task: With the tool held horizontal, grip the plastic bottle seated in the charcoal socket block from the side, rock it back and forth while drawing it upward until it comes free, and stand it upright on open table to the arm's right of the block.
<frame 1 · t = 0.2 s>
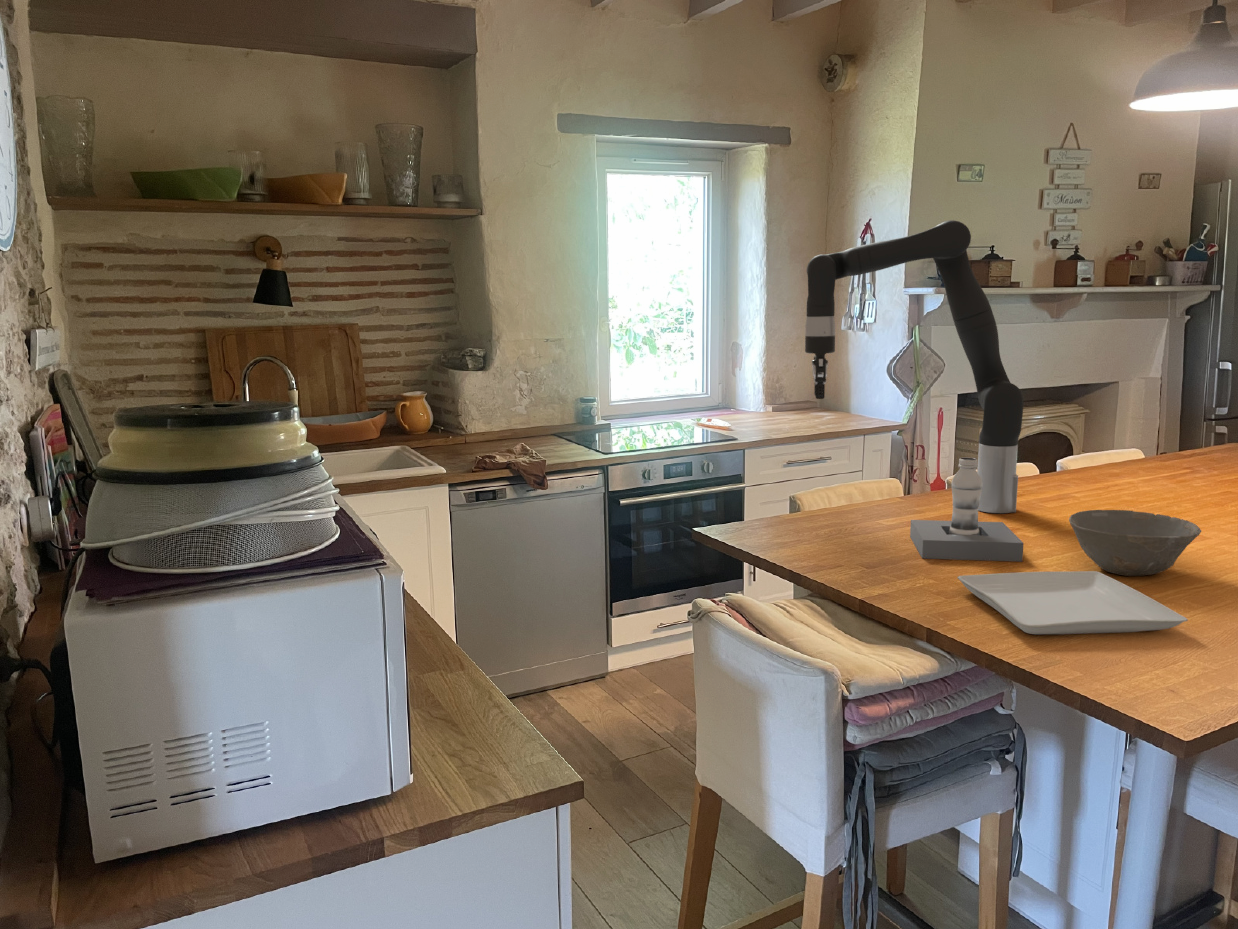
hand: (819, 397, 236), 29 cm above the table, tool pointing down, fingers open, 8 cm apart
plastic bottle: (963, 549, 199), resting in socket block
ceramic bowl: (1128, 571, 181), on the table
socket block: (963, 548, 199), on the table
square plate: (1062, 615, 158), on the table
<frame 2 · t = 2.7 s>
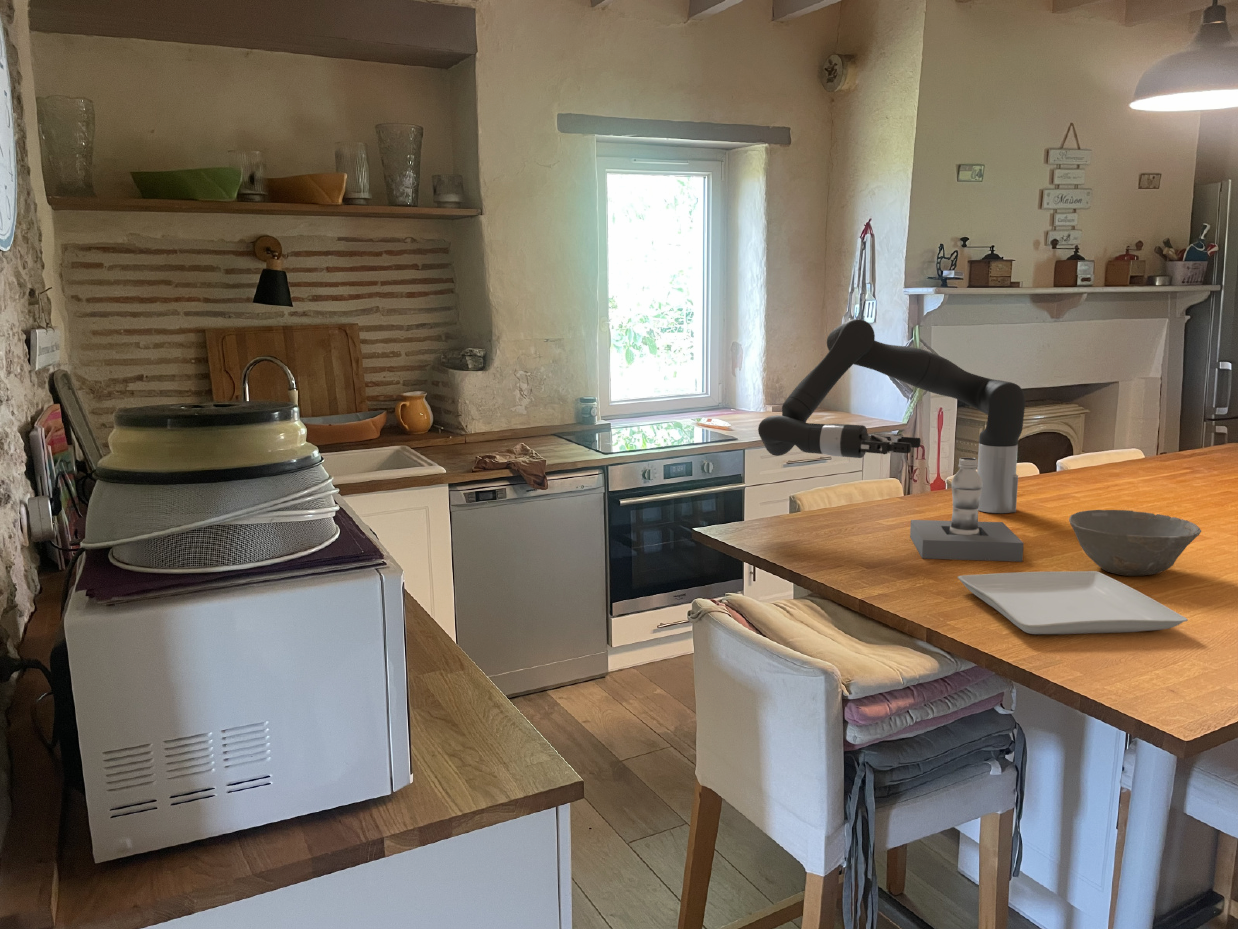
hand: (915, 445, 201), 22 cm above the table, tool horizontal, fingers open, 8 cm apart
nothing on the table moved.
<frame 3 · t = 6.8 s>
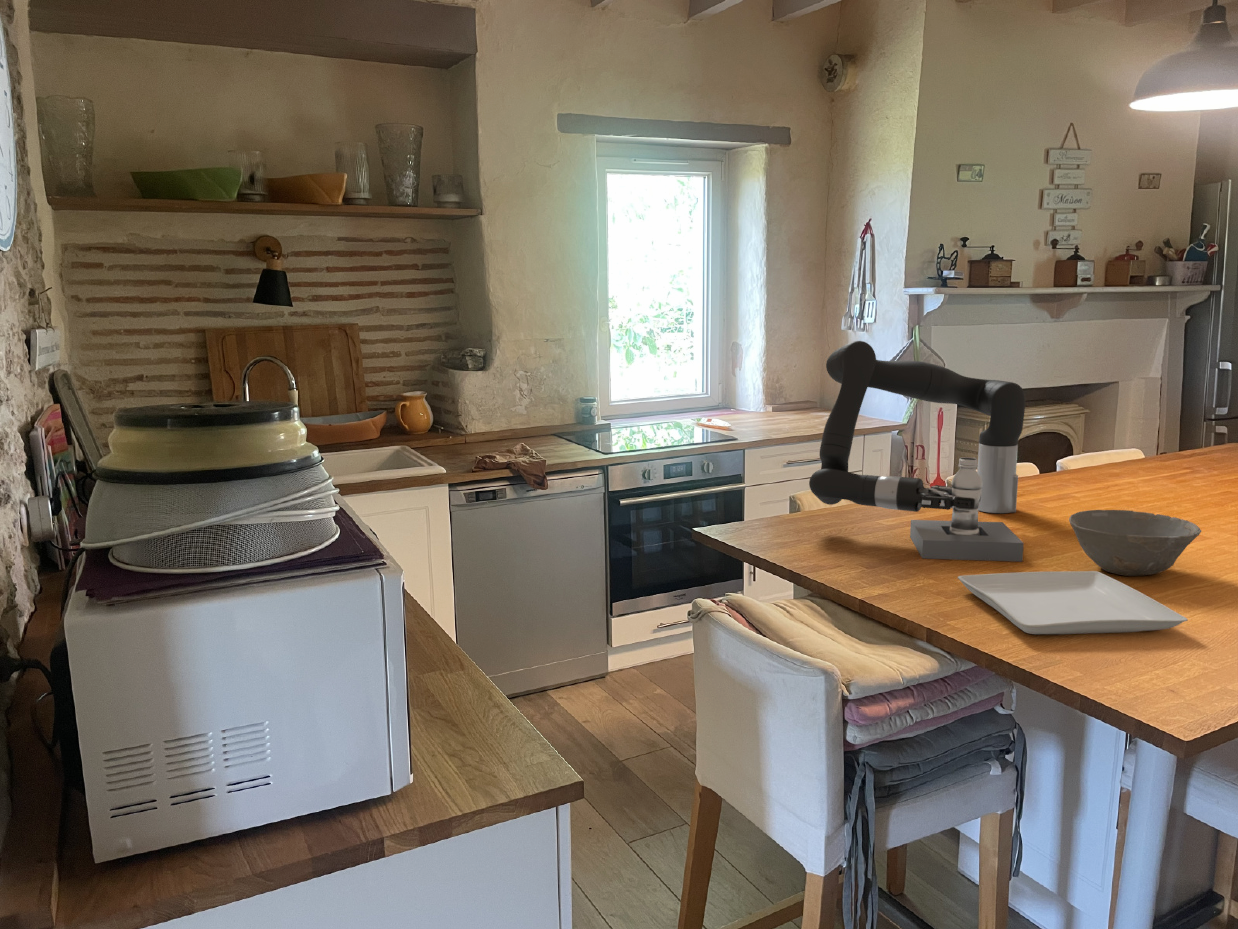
hand: (977, 500, 196), 11 cm above the table, tool horizontal, fingers closed on plastic bottle, 6 cm apart
plastic bottle: (963, 549, 199), resting in socket block, touching gripper
everything else where it was.
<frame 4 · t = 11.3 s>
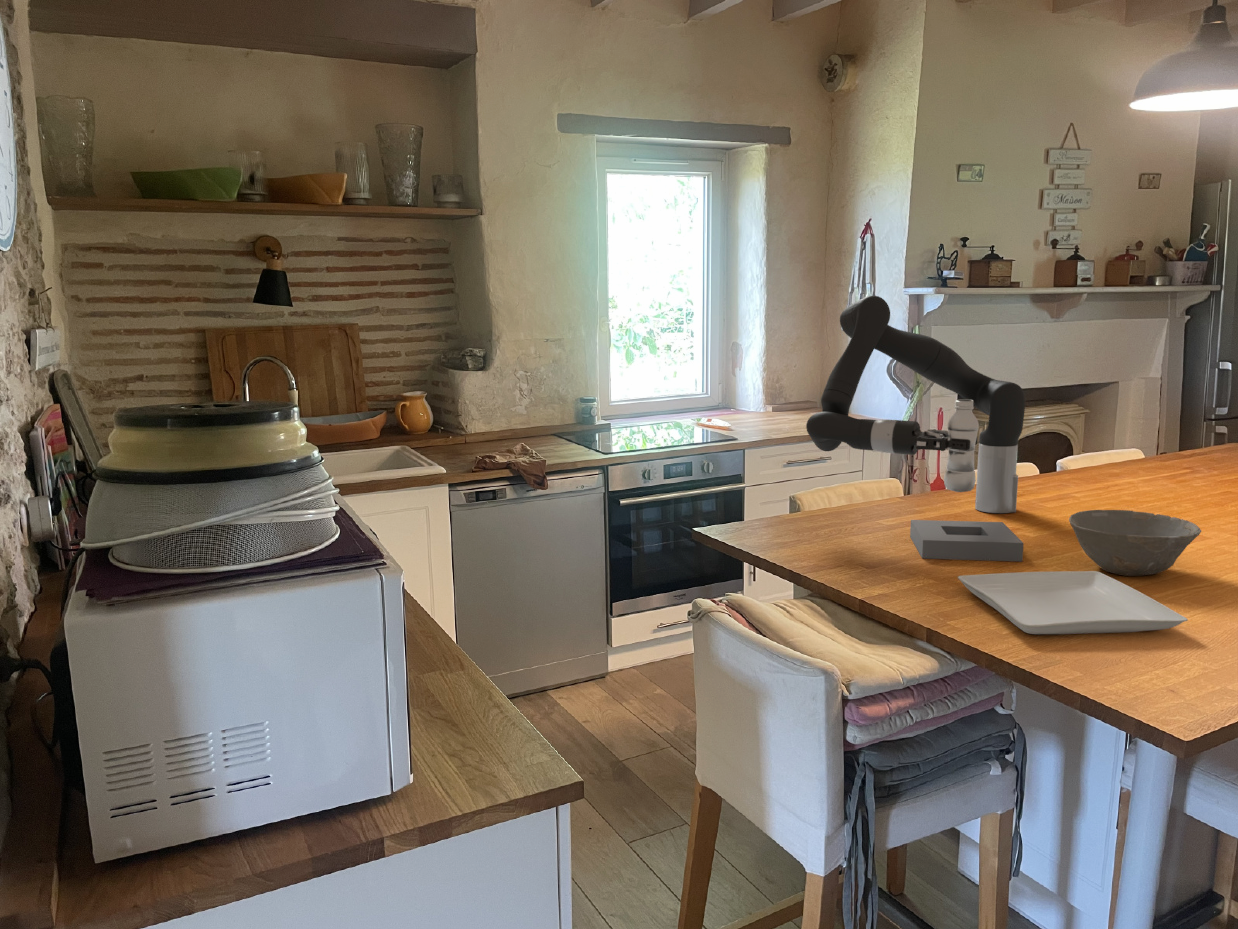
hand: (973, 442, 194), 24 cm above the table, tool horizontal, fingers closed on plastic bottle, 6 cm apart
plastic bottle: (959, 492, 198), point 12 cm above the table, touching gripper
everything else where it was.
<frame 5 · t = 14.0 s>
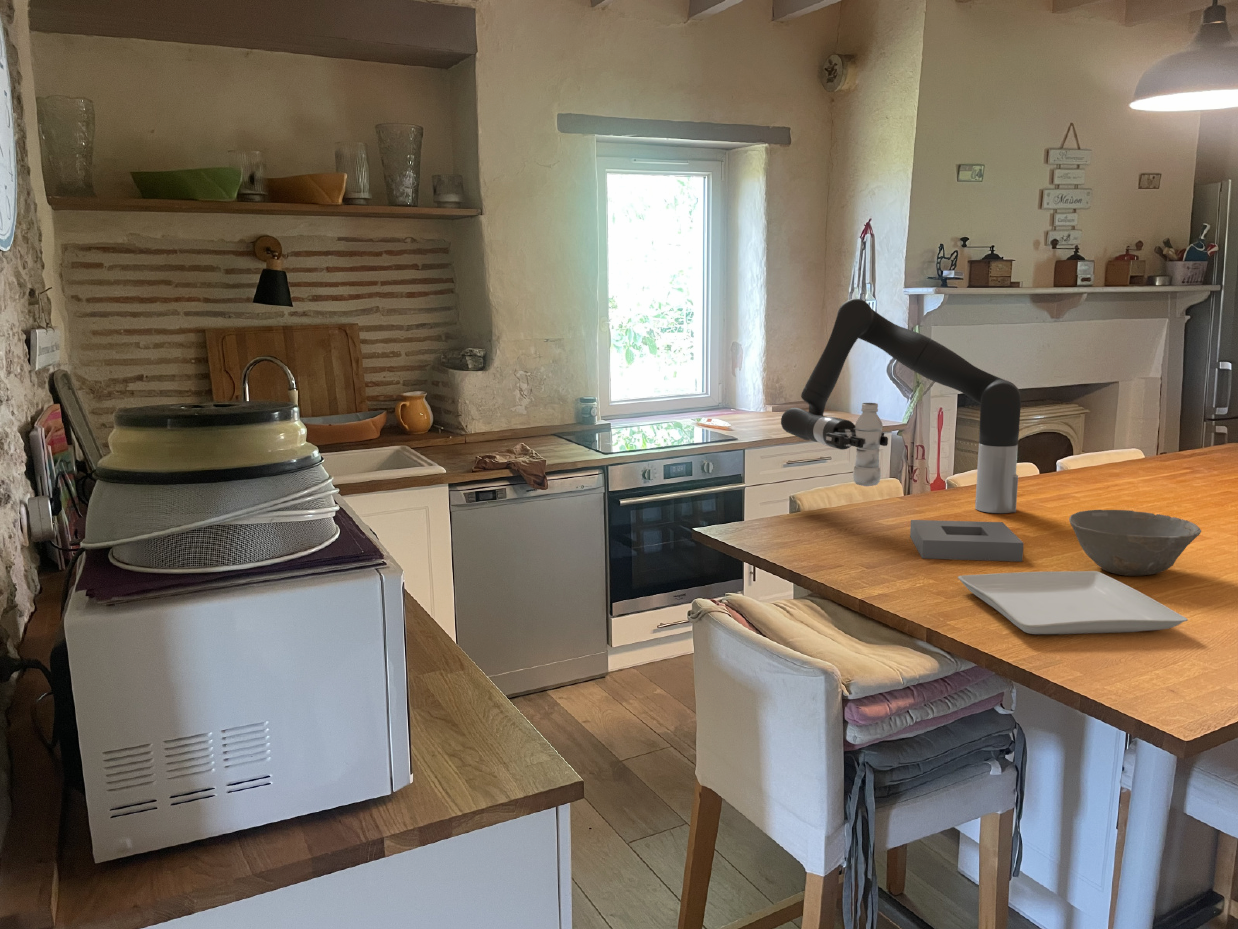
hand: (874, 442, 215), 21 cm above the table, tool horizontal, fingers closed on plastic bottle, 6 cm apart
plastic bottle: (866, 486, 219), point 10 cm above the table, touching gripper
everything else where it was.
when the fingers open (12 cm above the table, at t = 16.0 s): plastic bottle stays where it is, on the table.
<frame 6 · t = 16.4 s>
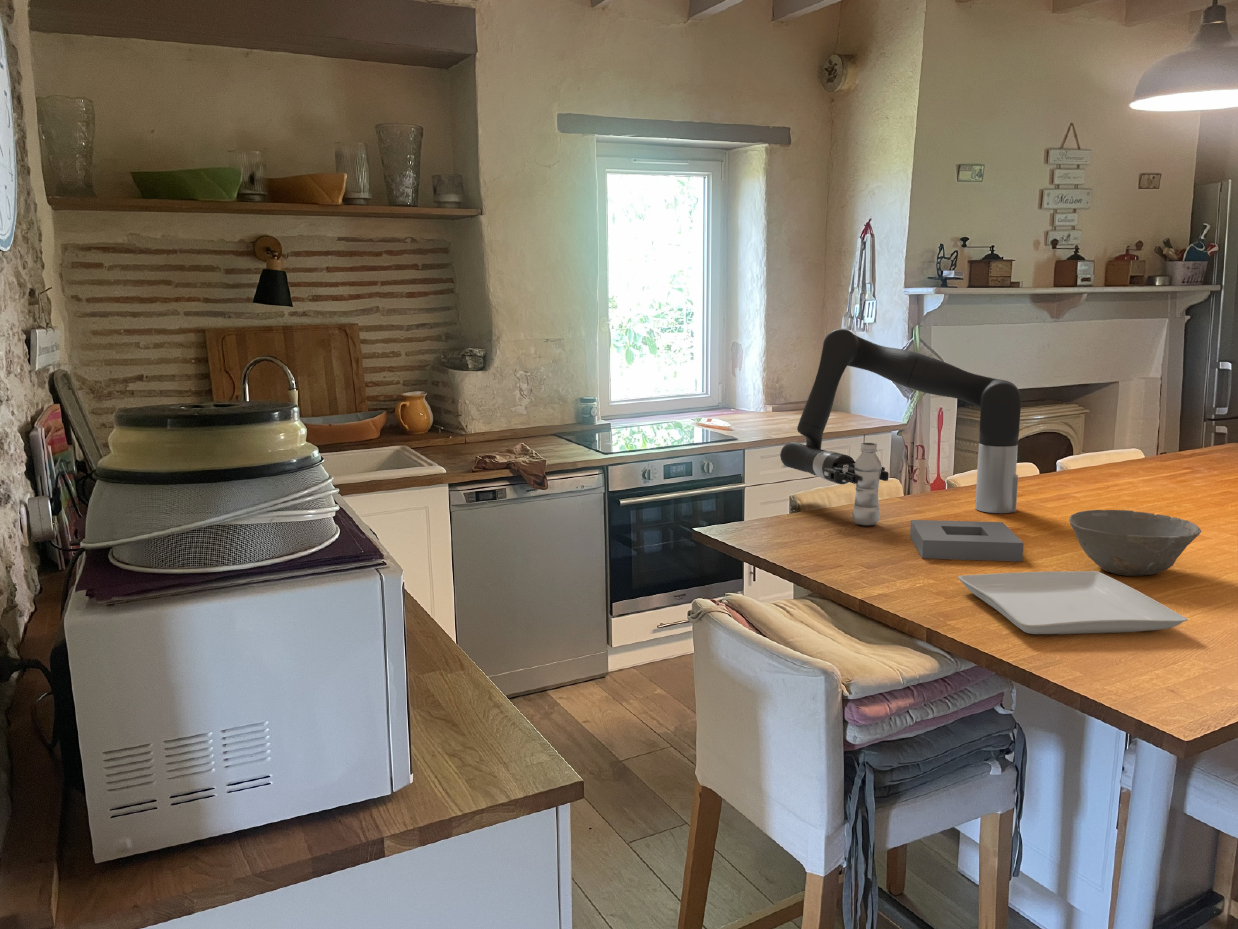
hand: (872, 478, 217), 12 cm above the table, tool horizontal, fingers open, 8 cm apart
plastic bottle: (865, 525, 221), on the table
everything else where it was.
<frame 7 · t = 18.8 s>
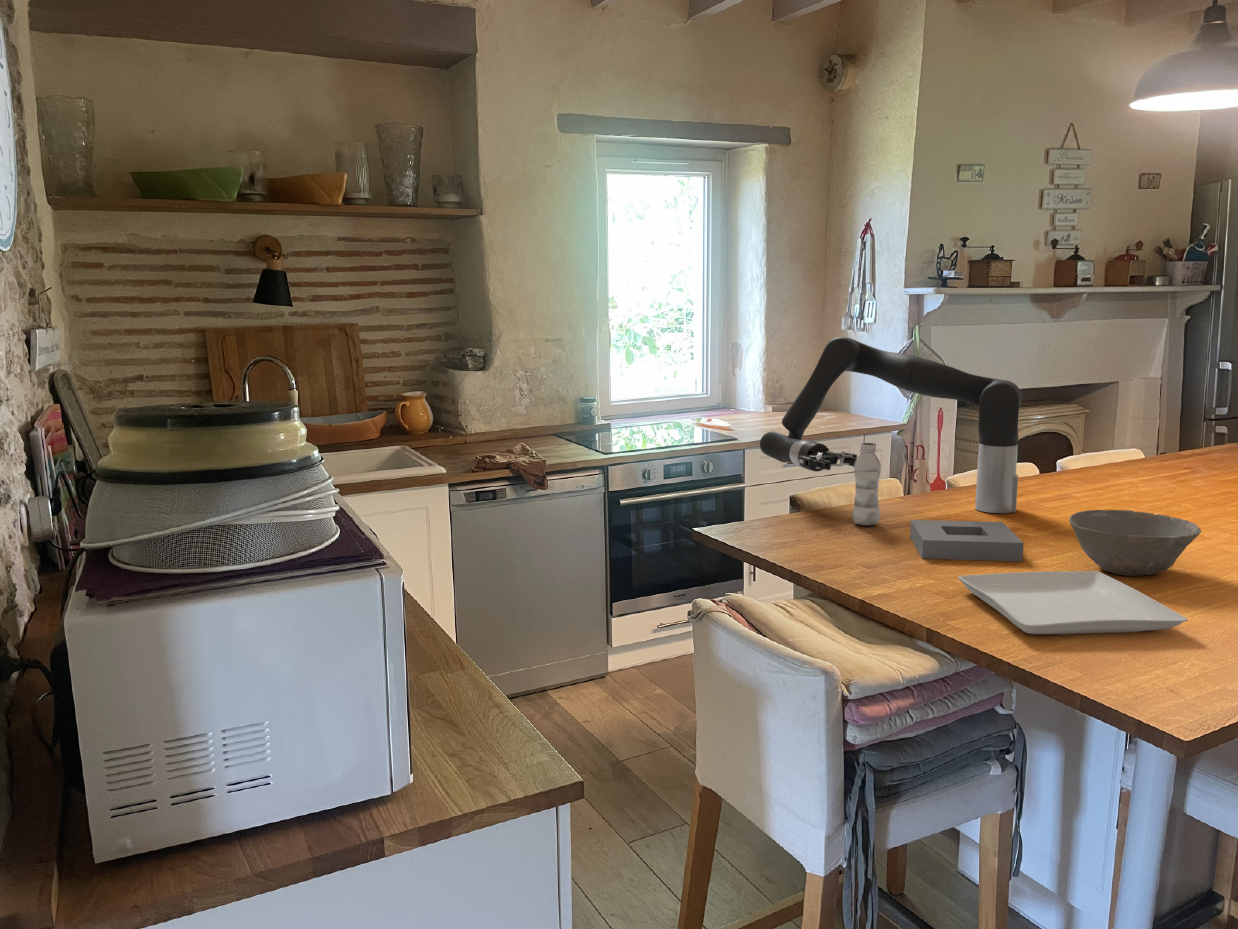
hand: (844, 464, 227), 13 cm above the table, tool horizontal, fingers open, 8 cm apart
nothing on the table moved.
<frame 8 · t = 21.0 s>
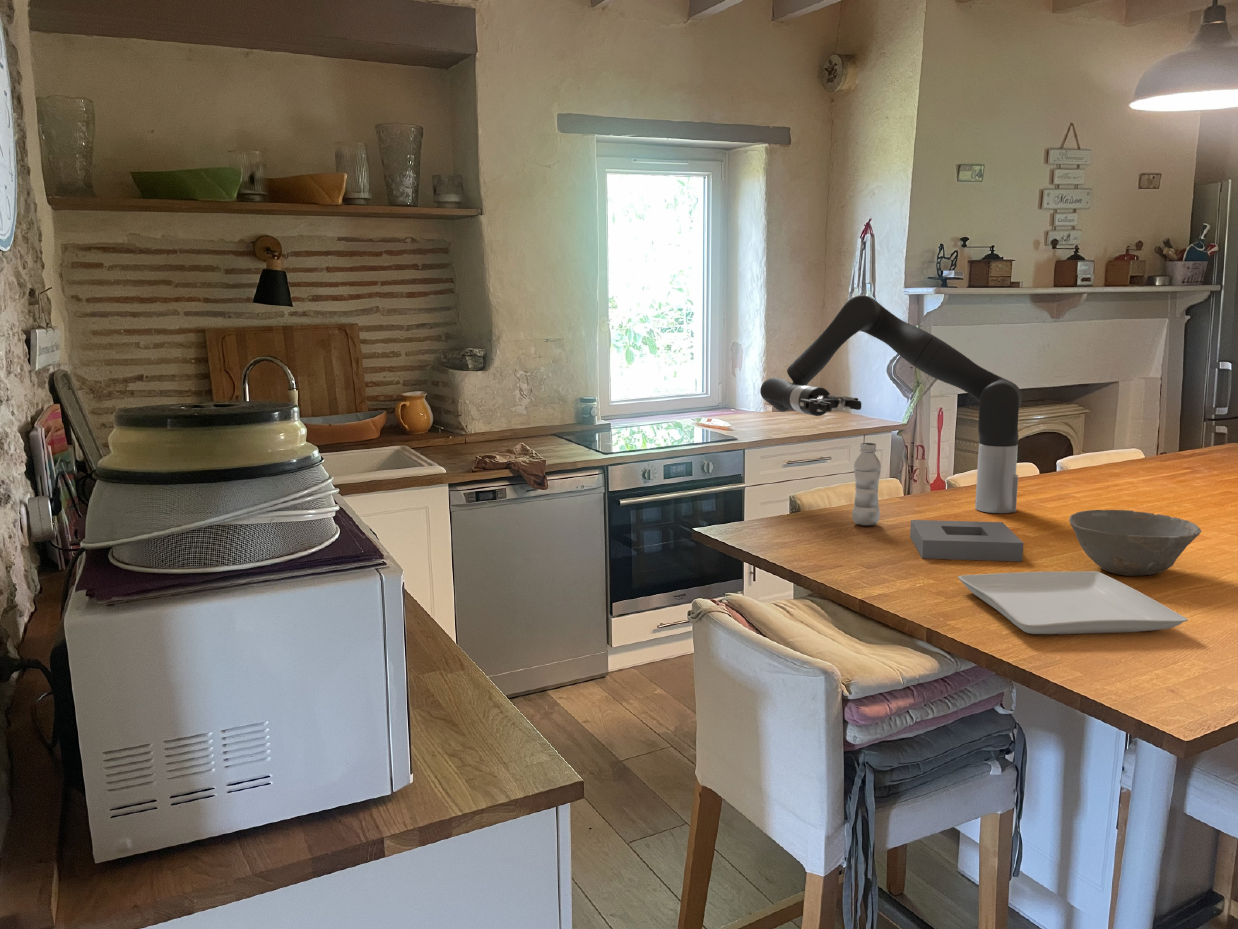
hand: (845, 406, 224), 28 cm above the table, tool horizontal, fingers open, 8 cm apart
nothing on the table moved.
at the end: plastic bottle inside the target area (0.1 cm from its centre), on the table; plastic bottle tilted 0°; the gripper is holding nothing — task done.
